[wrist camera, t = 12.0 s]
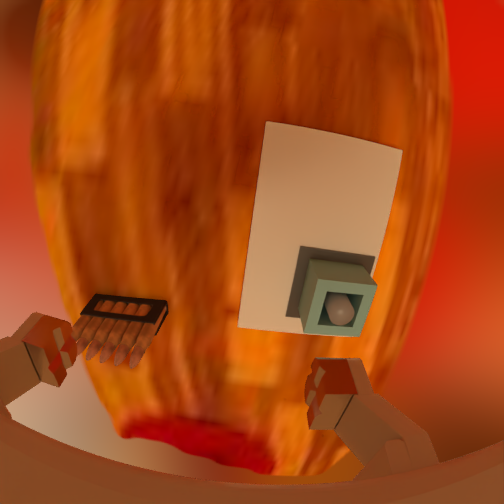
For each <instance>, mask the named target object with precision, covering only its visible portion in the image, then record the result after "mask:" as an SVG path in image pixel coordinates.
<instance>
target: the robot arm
mask: <svg viewBox="0 0 504 504" xmlns="http://www.w3.org/2000/svg"><path fill="white" fill-rule="evenodd" d="M72 332H73V330H72V327H71V323H69V322H68V321H65V320H61V319H58V318H54V317H51V316H48V315H43V314H40V313H37V312H36V313H32V314H31V315H30V317H29V318H28V319H27V320H26V321H25V322H24V323H23V324H22V325H21V326H20V327H19V329H18V330H17V331H16V332H15V333H14V334H13V336H11V337H5V338H3V339H1V340H0V504H504V440H503V441H501V442H499V443H497V444H494V445H492V446H489V447H486V448H484V449H481V450H479V451H476V452H473V453H470V454H468V455H465V456H462V457H459V458H456V459H452V460H449V461H446V462H443V463H439V461H438V459H437V456H436V453H435V451H434V448H433V445H432V443H431V441H430V438H429V435H428V433H427V432H426V431H424V430H423V429H422V428H420V427H419V426H418V425H417V424H415V423H414V422H413V421H411V420H410V419H409V418H407V417H406V416H405V415H404V414H403V413H401V412H400V411H399V410H398V409H396V408H395V407H394V406H393V405H391V404H390V403H389V402H387V401H386V400H385V399H384V398H383V397H381V396H380V395H379V394H374V392H373V390H372V387H371V384H370V381H369V379H368V376H367V373H366V371H365V368H364V365H363V363H362V360H361V359H360V358H345V359H344V358H315V359H314V360H313V362H312V365H311V368H312V373H311V374H310V375H308V377H307V380H306V384H305V403H306V404H307V405H308V406H309V409H308V412H307V418H308V425H309V429H318V430H332V429H335V430H334V431H335V432H336V433H337V435H338V436H339V437H340V438H341V439H342V441H343V442H344V443H345V444H346V445H347V446H348V448H349V449H350V450H351V451H352V452H353V453H354V455H355V456H356V457H357V458H358V459H359V460H360V462H361V463H362V464H363V465H364V466H365V467H364V468H363V469H362V470H361V471H360V472H359V474H358V475H357V476H356V477H355V478H354V479H353V481H346V482H336V483H323V484H303V485H262V484H243V483H229V482H220V481H210V480H203V479H196V478H189V477H184V476H178V475H172V474H167V473H162V472H157V471H153V470H148V469H144V468H140V467H135V466H132V465H128V464H124V463H120V462H117V461H114V460H110V459H107V458H104V457H101V456H97V455H95V454H92V453H89V452H86V451H83V450H80V449H78V448H75V447H72V446H70V445H67V444H64V443H62V442H60V441H57V440H55V439H52V438H50V437H48V436H45V435H43V434H41V433H39V432H37V431H35V430H32V429H30V428H28V427H26V426H24V425H22V424H20V423H18V422H16V421H14V420H12V417H11V414H10V412H9V411H8V409H7V408H6V405H7V404H9V403H10V402H12V401H13V400H15V399H16V398H18V397H19V396H21V395H22V394H24V393H25V392H27V391H28V390H30V389H31V388H33V387H34V386H36V385H37V384H39V383H40V381H42V382H45V383H47V384H50V385H53V386H56V387H60V386H61V384H62V382H63V380H64V379H65V377H66V375H67V372H66V369H67V368H69V367H71V366H73V364H74V362H75V360H76V356H77V344H76V341H75V340H74V338H73V337H72V336H71V334H72Z"/></svg>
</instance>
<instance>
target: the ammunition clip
mask: <svg viewBox="0 0 504 504" xmlns="http://www.w3.org/2000/svg"><path fill="white" fill-rule="evenodd" d="M167 314H168V306H167V301H166V300H154V299H143V298H132V297H121V296H111V295H102V294H95V295H94V296H93V297H92V299H91V300H90V301H89V303H88V304H87V305H86V306H85V308H84V309H83V310H82V312H81V313H80V315H81V317H80V318H79V319H78V320H77V322H76V323H75V324H74V326H73V327H72V330H73V332H72V334H71V336H72V337H73V338H74V340H75V341H76V342H77V340H78V339H79V338H80V339H79V340H78V342H77V343H76V344H77V356H78V355H79V354H81V353H82V352H83V351H84V350H85V348H86V347H87V345H89V343H90V342H91V341H92V340H93V341H92V343H91V344H90V346H89V348H88V351H87V354H86V360H90V359H91V358H93V357H94V356H95V355H96V354H97V352H98V351H99V350H100V348H101V347H102V346H103V344H104V343H105V342H106V344H105V345H104V347H103V349H102V352H101V355H100V363H103V362H105V361H106V360H107V359H108V358H109V357H110V356H111V355H112V353H113V351H114V350H115V349H116V347H117V346H118V345H119V344H120V345H119V348H118V350H117V352H116V355H115V360H114V364H115V366H117V365H119V364H120V363H121V362H122V361H123V360H124V359H125V358H126V356H127V354H128V352H129V351H130V349H131V348H132V347H133V346H134V345H135V347H134V349H133V352H132V354H131V357H130V368H131V369H132V368H134V367H135V366H136V365H137V364H138V363H139V361H140V360H141V358H142V356H143V354H144V353H145V351H146V349H147V348H148V347H149V346H150V344H151V342H152V339H153V337H154V335H157V333H158V331H159V329H160V327H161V325H162V323H163V322H164V320H165V318H166V316H167ZM135 343H136V344H135ZM77 356H76V357H77Z"/></svg>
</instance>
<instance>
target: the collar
mask: <svg viewBox="0 0 504 504" xmlns="http://www.w3.org/2000/svg"><path fill="white" fill-rule="evenodd" d="M376 289H377V284H376V283H375V282H374V280H373V279H372V277H371V276H370V275H369V273H368V272H367V271H366V269H365V268H364V266H363V265H356V264H348V263H341V262H333V261H325V260H318V259H309V264H308V268H307V273H306V277H305V281H304V286H303V290H302V294H301V298H300V303H299V307H298V309H299V314H300V318H301V323H302V328H303V332H304V333H309V334H322V335H337V336H354V337H359V336H360V334H361V331H362V328H363V326H364V323H365V320H366V317H367V315H368V312H369V309H370V306H371V303H372V300H373V298H374V295H375V292H376ZM327 291H329V292H339V293H346V295H347V297H348V299H349V301H350V303H351V305H352V307H353V309H354V317H353V319H352V320H351V321H350V322H349V323H347V324H345V325H335V324H333V323H332V322H331V320H330V318H329V315H328V312H327V310H326V307H325V304H324V300H325V296H326V293H327Z"/></svg>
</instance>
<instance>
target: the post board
mask: <svg viewBox="0 0 504 504" xmlns="http://www.w3.org/2000/svg"><path fill="white" fill-rule="evenodd" d="M402 152H403V150H399V149H396V148H392V147H389V146H385V145H382V144H378V143H374V142H370V141H366V140H362V139H358V138H354V137H349V136H345V135H341V134H336V133H331V132H327V131H322V130H317V129H311V128H306V127H300V126H295V125H289V124H283V123H276V122H269V121H266V124H265V131H264V138H263V145H262V152H261V159H260V166H259V173H258V181H257V188H256V195H255V202H254V209H253V216H252V223H251V230H250V238H249V245H248V252H247V259H246V267H245V274H244V281H243V288H242V296H241V303H240V310H239V318H238V327H242V328H250V329H259V330H269V331H279V332H289V333H300V334H309V333H304V332H303V328H302V323H301V318H300V314H299V309H298V307H299V303H300V298H301V294H302V290H303V286H304V281H305V277H306V273H307V268H308V264H309V259H318V260H325V261H333V262H341V263H348V264H356V265H363V266H364V268H365V269H366V271H367V272H368V273H369V275H370V276H371V277H373V273H374V270H375V267H376V263H377V260H378V256H379V253H380V249H381V246H382V242H383V238H384V234H385V231H386V227H387V223H388V219H389V215H390V210H391V206H392V202H393V197H394V193H395V188H396V184H397V179H398V174H399V169H400V163H401V158H402ZM324 304H325V307H326V310H327V312H328V315H329V318H330V320H331V322H332V323H333V324H335V325H345V324H347V323H349V322H350V321H351V320H352V319H353V317H354V309H353V307H352V305H351V303H350V301H349V299H348V297H347V295H346V293H339V292H329V291H327V293H326V296H325V300H324ZM313 335H322V334H313ZM327 336H337V335H327ZM342 337H352V336H342Z"/></svg>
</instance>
